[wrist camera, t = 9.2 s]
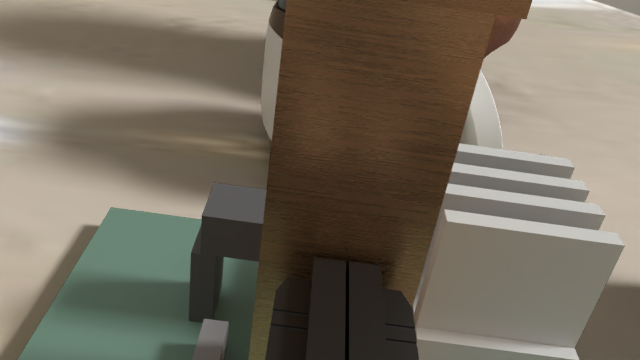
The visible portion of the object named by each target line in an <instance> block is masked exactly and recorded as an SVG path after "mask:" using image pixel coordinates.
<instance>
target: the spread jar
mask: <svg viewBox="0 0 640 360" xmlns="http://www.w3.org/2000/svg"><path fill="white" fill-rule="evenodd" d="M286 3H287V0H277V1H276V3H275V4H274V6H273V9H272V12H271V15H270V18H269V23H268V28H267V34H266V42H265V52H264V63H263V73H262V87H261V109H262V120H263V124H264V128H265V131H266V135H267V138H268V141H269V143H270V145H271V143H272V134H273V125H274V115H275V106H276V97H277V87H278V78H279V68H280V59H281V50H282V40H283V31H284V22H285V12H286ZM460 143H461V144H468V145H475V146H482V147H489V148H496V149H503V142H502V133H501V127H500V122H499V117H498V113H497V109H496V105H495V102H494V99H493V96H492V93H491V90H490V88H489V86H488V83H487V81H486V79H485V77H484V75H483V74H482V72H481V70H480V73H479V76H478V80H477V83H476V87H475V90H474V94H473V97H472V101H471V104H470V108H469V111H468V115H467V118H466V122H465V125H464V129H463V132H462V136H461V139H460Z"/></svg>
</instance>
